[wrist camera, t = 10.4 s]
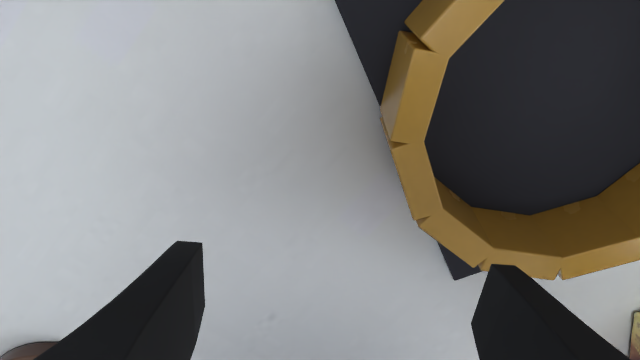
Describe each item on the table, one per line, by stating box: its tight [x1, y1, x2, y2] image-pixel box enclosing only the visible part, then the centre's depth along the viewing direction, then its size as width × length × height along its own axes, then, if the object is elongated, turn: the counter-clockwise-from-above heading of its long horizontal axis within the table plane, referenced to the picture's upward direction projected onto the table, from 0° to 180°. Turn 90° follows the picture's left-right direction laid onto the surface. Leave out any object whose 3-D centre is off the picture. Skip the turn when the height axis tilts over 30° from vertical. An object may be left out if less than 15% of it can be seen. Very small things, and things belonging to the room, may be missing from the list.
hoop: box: [380, 0, 640, 280], centre depth 17 cm, size 13×13×3 cm
